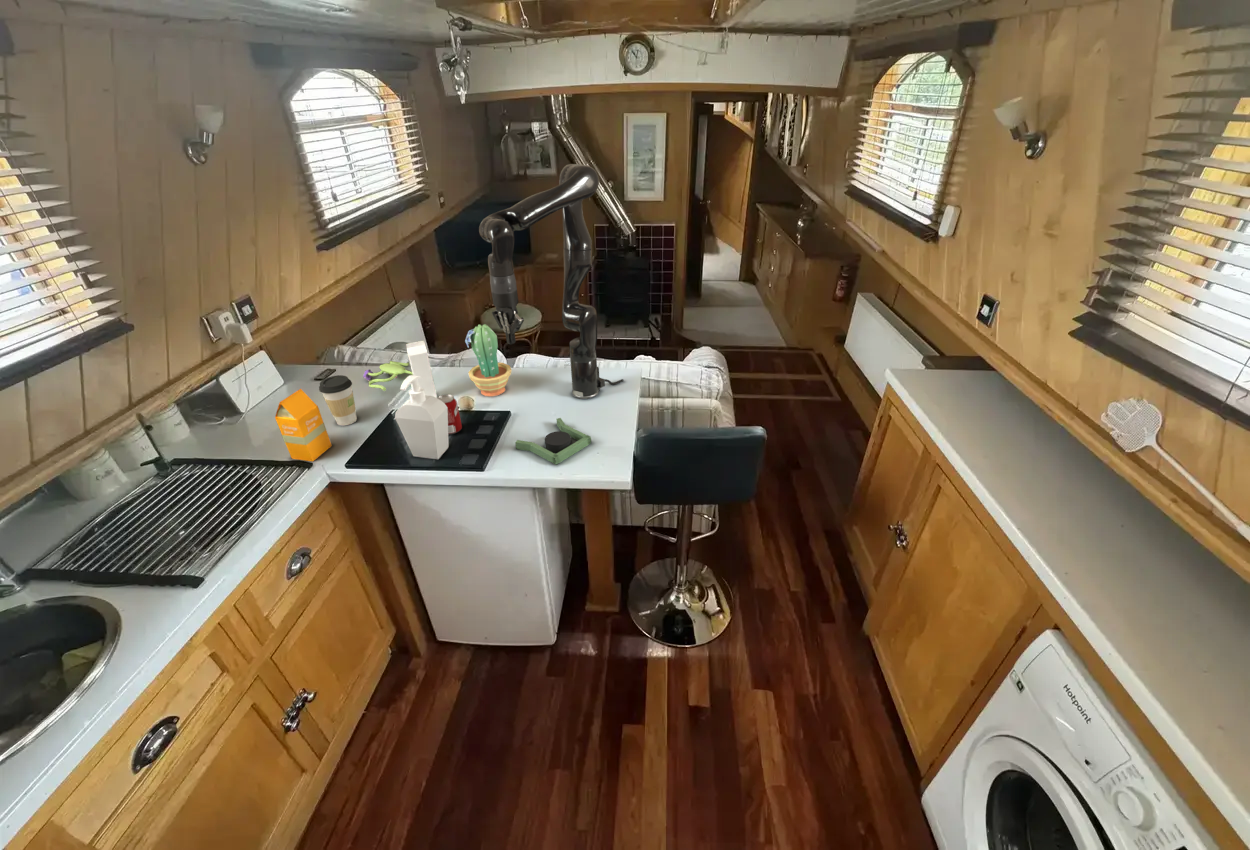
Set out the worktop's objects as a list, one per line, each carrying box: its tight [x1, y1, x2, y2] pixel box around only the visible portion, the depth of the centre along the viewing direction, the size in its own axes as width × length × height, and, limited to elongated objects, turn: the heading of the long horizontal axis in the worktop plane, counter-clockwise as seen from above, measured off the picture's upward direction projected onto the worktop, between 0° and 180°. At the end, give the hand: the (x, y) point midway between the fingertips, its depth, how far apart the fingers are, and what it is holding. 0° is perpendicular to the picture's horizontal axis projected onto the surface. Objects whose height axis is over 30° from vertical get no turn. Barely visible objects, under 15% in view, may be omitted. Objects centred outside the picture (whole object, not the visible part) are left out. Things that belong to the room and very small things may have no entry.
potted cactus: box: [464, 323, 512, 397], centre depth 197 cm, size 15×15×25 cm
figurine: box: [362, 360, 413, 392], centre depth 210 cm, size 18×27×6 cm
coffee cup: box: [318, 374, 358, 426], centre depth 183 cm, size 10×10×15 cm
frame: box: [515, 417, 592, 466], centre depth 172 cm, size 19×16×2 cm
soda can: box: [437, 393, 463, 436], centre depth 177 cm, size 7×7×12 cm
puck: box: [544, 430, 572, 454], centre depth 171 cm, size 8×8×3 cm
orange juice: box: [274, 388, 332, 462], centre depth 166 cm, size 8×9×20 cm
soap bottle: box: [394, 374, 449, 460], centre depth 163 cm, size 12×10×26 cm
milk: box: [405, 340, 438, 398], centre depth 193 cm, size 6×6×22 cm
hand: (511, 343), depth 173 cm, fingers closed
